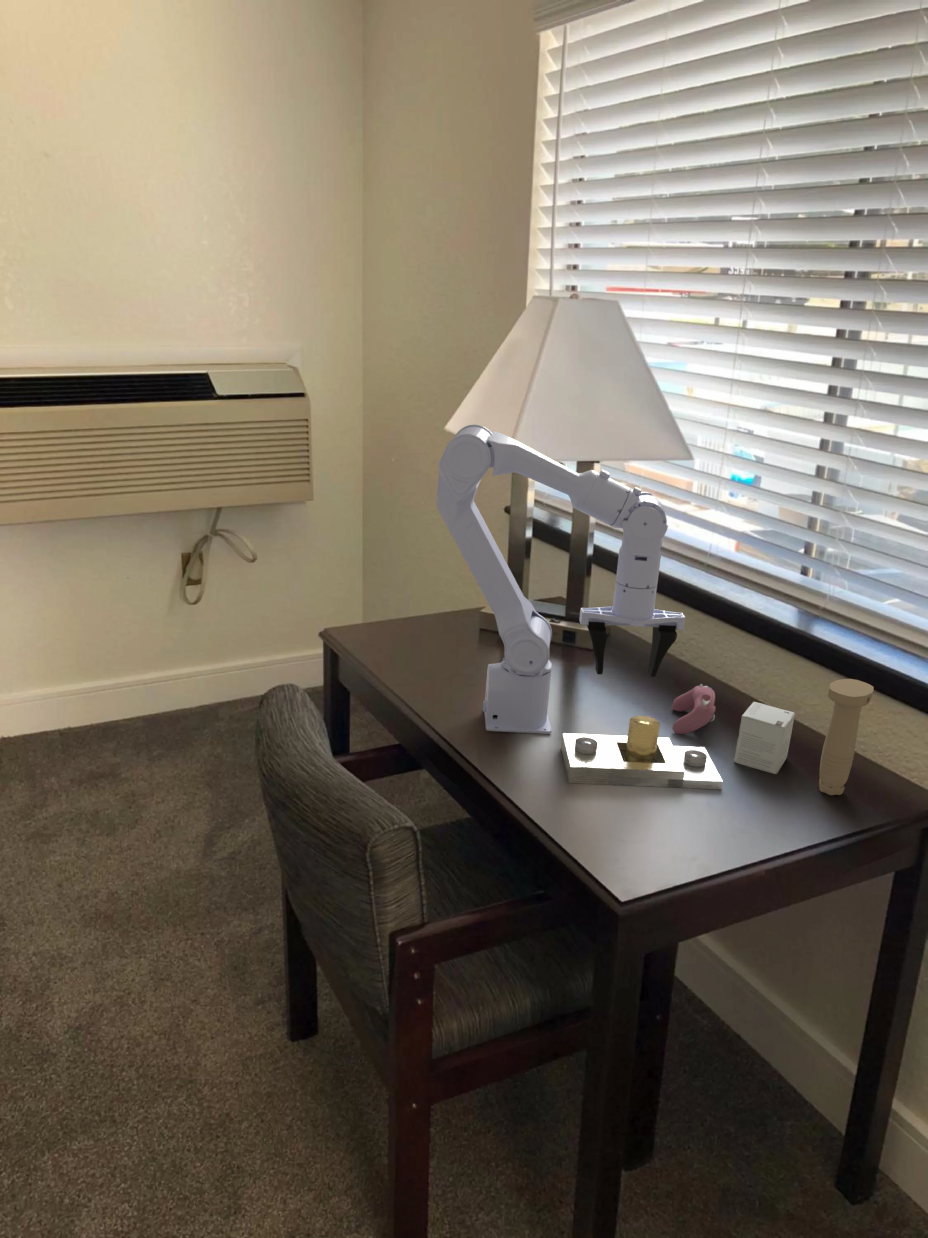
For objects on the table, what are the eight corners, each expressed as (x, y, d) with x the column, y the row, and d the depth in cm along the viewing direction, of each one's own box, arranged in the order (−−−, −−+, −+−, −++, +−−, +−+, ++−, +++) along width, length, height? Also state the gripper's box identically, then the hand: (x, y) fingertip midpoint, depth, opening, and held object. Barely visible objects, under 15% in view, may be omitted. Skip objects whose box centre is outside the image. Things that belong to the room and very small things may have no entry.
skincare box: (744, 747, 144) (752, 700, 141) (787, 758, 141) (796, 711, 138) (732, 763, 139) (740, 715, 136) (776, 775, 136) (785, 726, 133)
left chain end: (569, 783, 130) (571, 758, 129) (560, 748, 139) (563, 725, 138) (682, 787, 131) (686, 763, 130) (666, 753, 140) (670, 730, 139)
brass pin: (626, 775, 133) (632, 727, 131) (621, 761, 137) (627, 715, 135) (655, 776, 133) (662, 729, 131) (650, 762, 137) (656, 716, 135)
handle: (801, 790, 132) (821, 687, 127) (825, 776, 136) (846, 675, 131) (834, 805, 129) (857, 700, 124) (859, 791, 133) (881, 688, 128)
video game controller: (696, 747, 146) (724, 711, 143) (669, 731, 146) (697, 695, 143) (694, 720, 155) (720, 685, 152) (669, 704, 155) (695, 670, 152)
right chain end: (608, 784, 130) (610, 768, 130) (597, 750, 140) (599, 734, 139) (721, 789, 131) (724, 773, 130) (703, 754, 140) (705, 739, 139)
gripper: (588, 588, 134) (578, 681, 138) (694, 594, 134) (681, 686, 139) (581, 573, 140) (572, 662, 145) (683, 578, 141) (671, 667, 145)
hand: (625, 673), depth 142 cm, fingers open, 7 cm apart
